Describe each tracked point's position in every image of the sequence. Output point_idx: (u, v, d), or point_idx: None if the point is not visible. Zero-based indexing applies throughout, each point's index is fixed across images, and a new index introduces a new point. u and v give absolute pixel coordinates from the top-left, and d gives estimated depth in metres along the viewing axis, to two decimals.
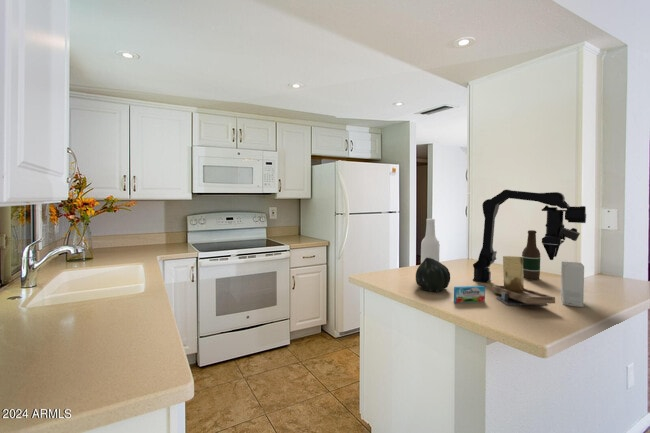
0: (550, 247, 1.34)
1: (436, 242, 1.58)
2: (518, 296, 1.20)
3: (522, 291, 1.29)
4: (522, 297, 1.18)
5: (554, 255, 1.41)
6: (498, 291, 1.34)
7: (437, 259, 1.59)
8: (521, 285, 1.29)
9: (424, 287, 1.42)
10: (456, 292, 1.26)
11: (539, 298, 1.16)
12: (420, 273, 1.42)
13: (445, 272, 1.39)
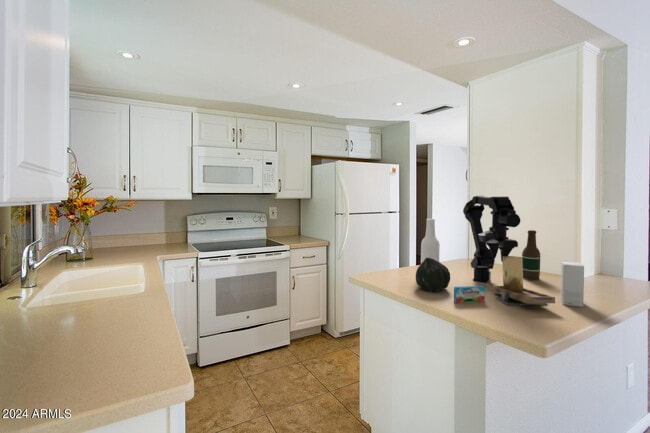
0: None
1: (436, 242, 1.58)
2: (518, 296, 1.20)
3: (521, 291, 1.29)
4: (522, 297, 1.18)
5: (502, 260, 1.40)
6: (498, 291, 1.34)
7: (437, 259, 1.59)
8: (520, 285, 1.29)
9: (424, 287, 1.42)
10: (456, 292, 1.26)
11: (539, 298, 1.16)
12: (420, 273, 1.42)
13: (445, 272, 1.39)
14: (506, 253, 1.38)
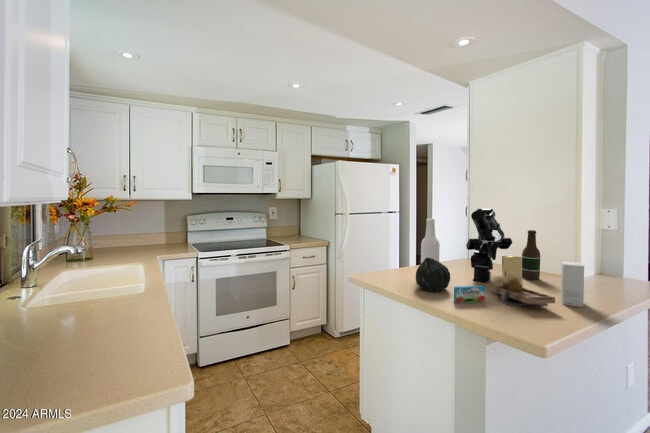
0: None
1: (436, 242, 1.58)
2: (518, 296, 1.20)
3: (521, 291, 1.30)
4: (522, 297, 1.18)
5: None
6: (498, 291, 1.34)
7: (437, 259, 1.59)
8: (520, 285, 1.29)
9: (424, 287, 1.42)
10: (456, 292, 1.26)
11: (539, 298, 1.16)
12: (420, 273, 1.42)
13: (445, 272, 1.39)
14: (489, 251, 1.46)
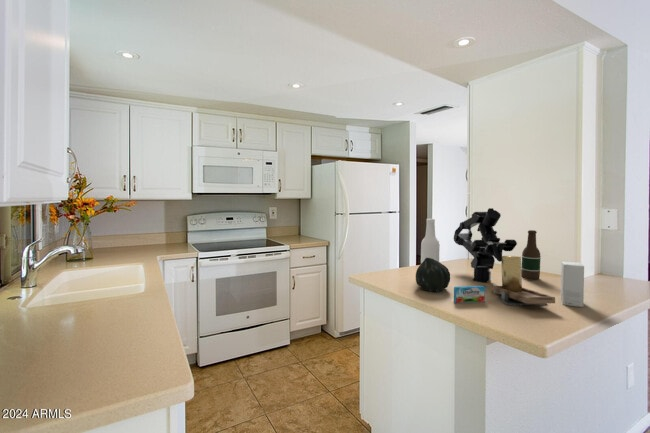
0: None
1: (436, 242, 1.58)
2: (518, 296, 1.20)
3: (520, 290, 1.30)
4: (522, 297, 1.18)
5: None
6: (498, 291, 1.34)
7: (437, 259, 1.59)
8: (519, 284, 1.30)
9: (424, 287, 1.42)
10: (456, 292, 1.26)
11: (539, 298, 1.16)
12: (420, 273, 1.42)
13: (445, 272, 1.39)
14: (494, 252, 1.43)
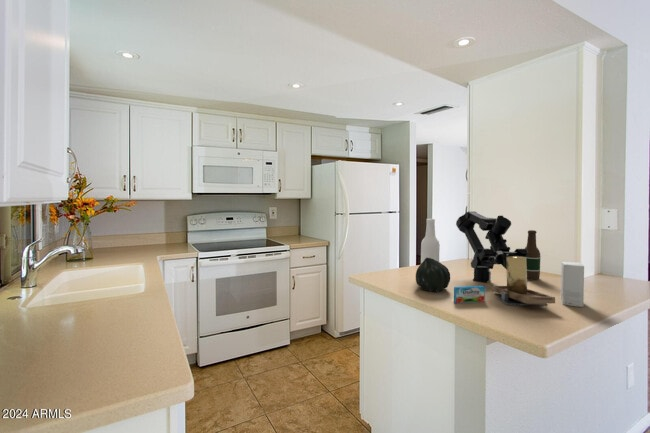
0: None
1: (436, 242, 1.58)
2: (518, 296, 1.20)
3: (525, 292, 1.27)
4: (522, 297, 1.18)
5: None
6: (498, 291, 1.34)
7: (437, 259, 1.59)
8: (524, 286, 1.27)
9: (424, 287, 1.42)
10: (456, 292, 1.26)
11: (539, 298, 1.16)
12: (420, 273, 1.42)
13: (445, 272, 1.39)
14: (504, 263, 1.36)
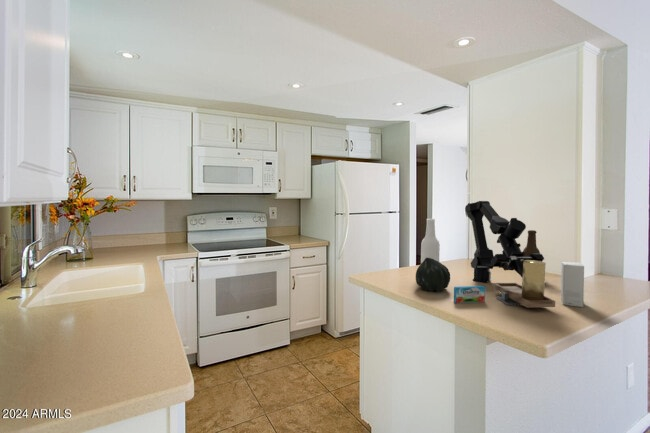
0: None
1: (436, 242, 1.58)
2: (518, 298, 1.20)
3: None
4: (522, 300, 1.18)
5: None
6: (498, 289, 1.34)
7: (437, 259, 1.59)
8: (542, 294, 1.17)
9: (424, 287, 1.42)
10: (456, 292, 1.26)
11: (539, 302, 1.15)
12: (420, 273, 1.42)
13: (445, 272, 1.39)
14: (518, 269, 1.26)
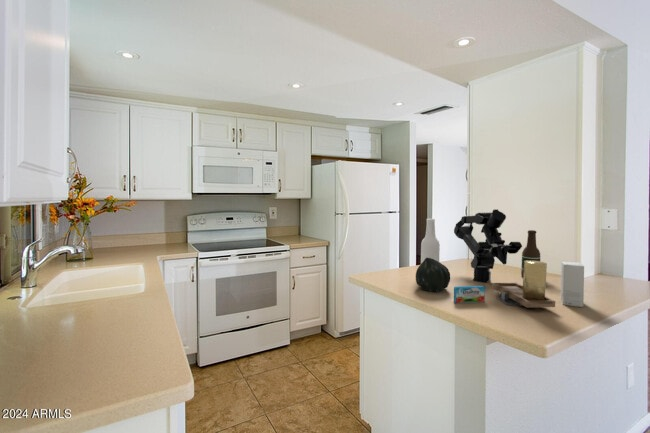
0: None
1: (436, 242, 1.58)
2: (518, 298, 1.20)
3: None
4: (522, 300, 1.18)
5: None
6: (498, 289, 1.34)
7: (437, 259, 1.59)
8: (543, 294, 1.17)
9: (424, 287, 1.42)
10: (456, 292, 1.26)
11: (539, 302, 1.15)
12: (420, 273, 1.42)
13: (445, 272, 1.39)
14: (499, 255, 1.40)
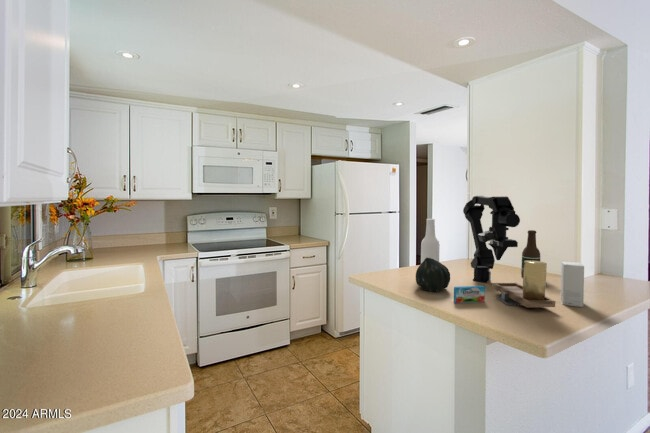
0: None
1: (436, 242, 1.58)
2: (518, 298, 1.20)
3: None
4: (522, 300, 1.18)
5: None
6: (498, 289, 1.34)
7: (437, 259, 1.59)
8: (543, 294, 1.17)
9: (424, 287, 1.42)
10: (456, 292, 1.26)
11: (539, 302, 1.15)
12: (420, 273, 1.42)
13: (445, 272, 1.39)
14: (501, 252, 1.42)
